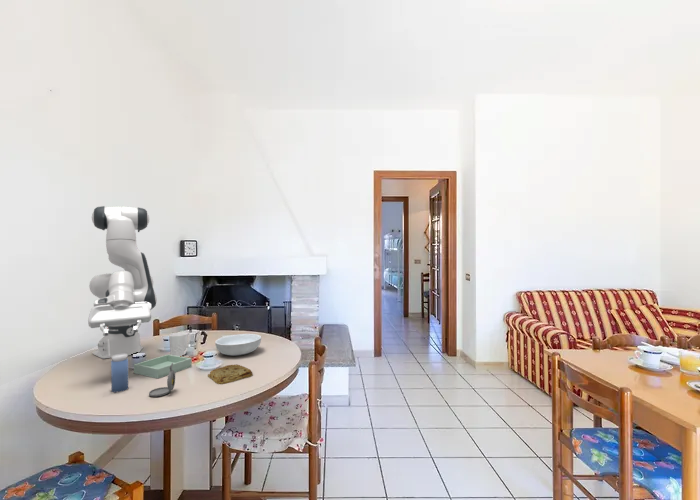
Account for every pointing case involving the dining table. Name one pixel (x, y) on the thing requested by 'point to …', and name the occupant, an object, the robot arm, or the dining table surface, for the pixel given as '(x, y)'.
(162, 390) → the pocket watch
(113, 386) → the shaker
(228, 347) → the serving bowl
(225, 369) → the pastry
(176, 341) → the white cup
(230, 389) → the dining table surface
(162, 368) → the tray
